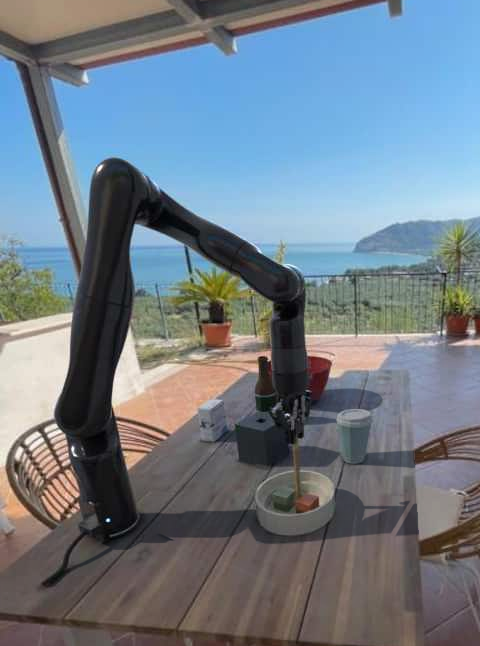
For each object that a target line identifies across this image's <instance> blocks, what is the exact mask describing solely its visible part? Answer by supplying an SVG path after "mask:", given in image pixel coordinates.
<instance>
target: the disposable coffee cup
mask: <svg viewBox="0 0 480 646" xmlns="http://www.w3.org/2000/svg"><path fill="white" fill-rule="evenodd" d="M373 422H374V420H373V415H372V413H371V411H368V410H367V409H363V408H362V409H361V408H350V409H346V410H342V411H341V412H339V413H338V414H337V417H336V424H337V429H338V436H339V443H340V449H341V453H342V454H341V455H342V459H343V461H344V462H346V463H348V464H351V465H352V464H353V465H355V464H360V463H362V462H364V461H365V458H366V455H367V449H368V444H369V438H370V433H371V428H372V424H373Z"/></svg>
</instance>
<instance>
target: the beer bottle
mask: <svg viewBox="0 0 480 646" xmlns="http://www.w3.org/2000/svg"><path fill="white" fill-rule="evenodd" d="M256 361H257V362H258V363H257V364H258V366H257V367H258V379H257V382H256V384H255V386H254V399H255V409H256V412H258V411H260V412H264V413H269V409H270V408H274V407H275V406H276V404H277V391H276V390H275V389H274V388H273V381H272V379H271V378H270V374H269V368H268V361H269V357H268V356H266V355H261V356H258V357H257V359H256Z"/></svg>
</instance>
